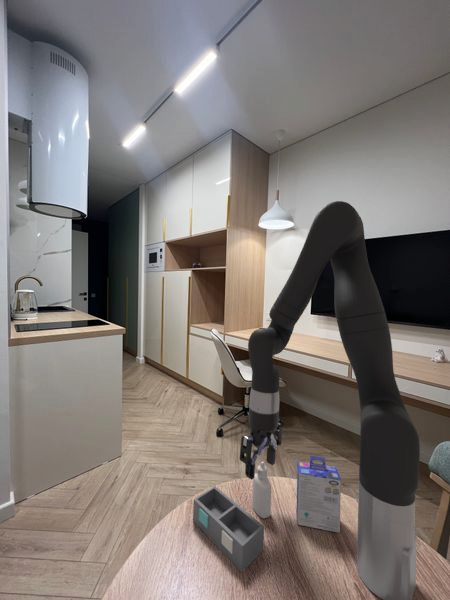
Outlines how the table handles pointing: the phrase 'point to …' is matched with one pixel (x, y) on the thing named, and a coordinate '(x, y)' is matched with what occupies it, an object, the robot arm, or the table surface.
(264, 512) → the eye dropper bottle
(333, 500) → the ink cartridge box
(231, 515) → the block
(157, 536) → the table surface
